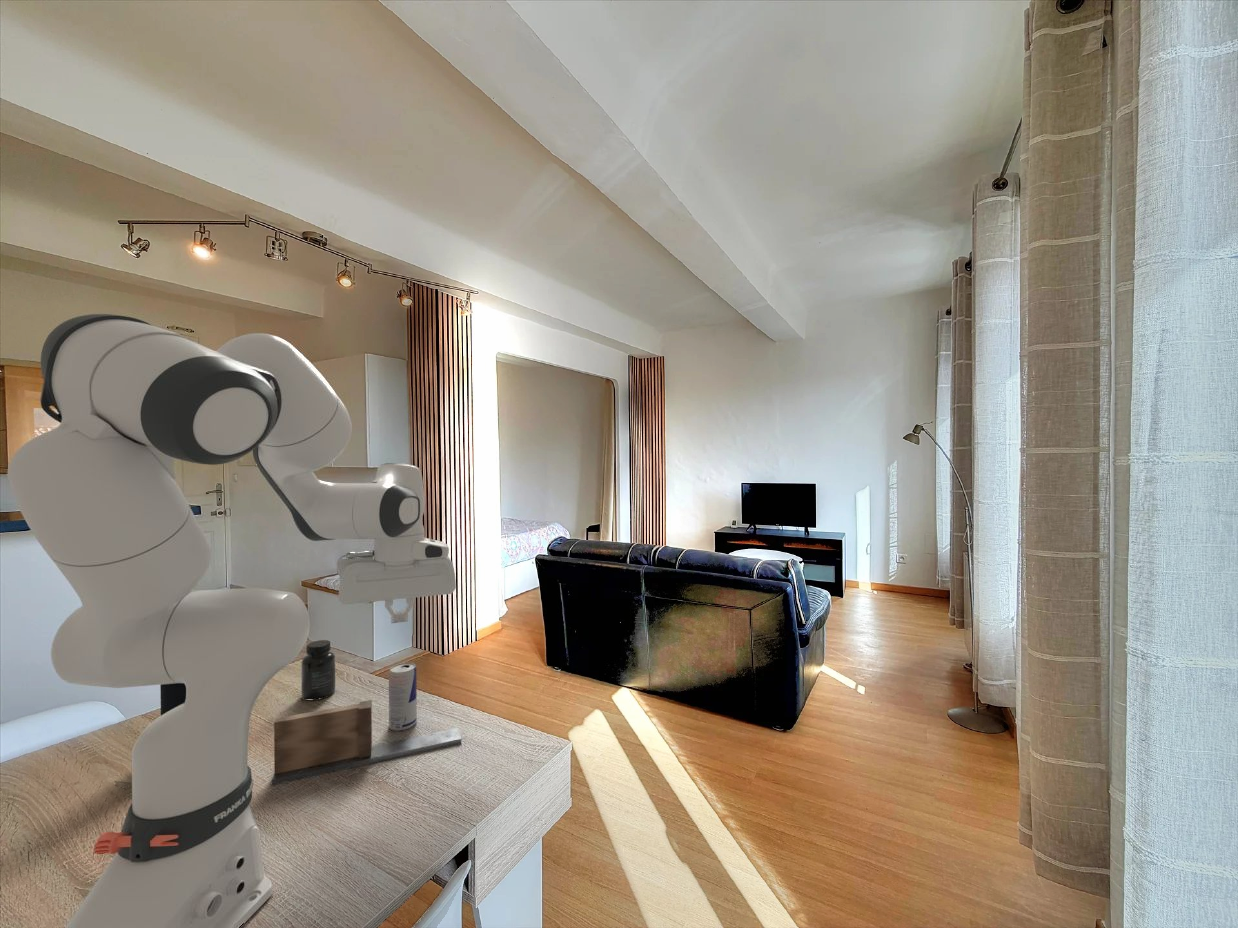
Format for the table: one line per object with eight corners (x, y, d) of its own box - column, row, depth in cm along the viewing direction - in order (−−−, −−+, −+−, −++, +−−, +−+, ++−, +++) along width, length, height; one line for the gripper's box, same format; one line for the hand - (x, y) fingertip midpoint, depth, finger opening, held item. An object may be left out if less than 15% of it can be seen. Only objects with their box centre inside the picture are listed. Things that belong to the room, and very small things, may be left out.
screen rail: (458, 731, 102) (458, 727, 102) (461, 743, 98) (461, 738, 98) (277, 770, 89) (277, 765, 89) (271, 784, 85) (271, 779, 85)
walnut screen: (371, 746, 95) (371, 699, 94) (371, 755, 92) (370, 707, 92) (277, 766, 88) (277, 716, 88) (273, 776, 86) (273, 724, 86)
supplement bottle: (302, 691, 119) (302, 641, 119) (335, 685, 122) (335, 636, 122) (300, 703, 113) (299, 651, 113) (335, 697, 116) (334, 645, 116)
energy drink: (421, 718, 107) (421, 662, 107) (408, 732, 102) (408, 673, 101) (397, 717, 107) (397, 661, 107) (383, 730, 102) (383, 672, 102)
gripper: (335, 555, 88) (335, 634, 88) (456, 547, 96) (456, 619, 96) (338, 550, 93) (338, 623, 93) (453, 542, 102) (453, 610, 102)
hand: (399, 621), depth 95 cm, fingers closed
